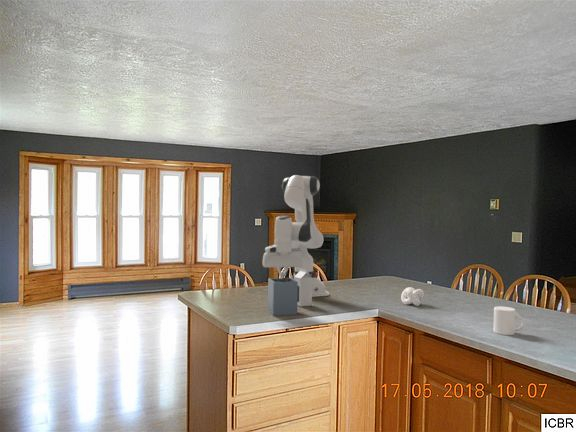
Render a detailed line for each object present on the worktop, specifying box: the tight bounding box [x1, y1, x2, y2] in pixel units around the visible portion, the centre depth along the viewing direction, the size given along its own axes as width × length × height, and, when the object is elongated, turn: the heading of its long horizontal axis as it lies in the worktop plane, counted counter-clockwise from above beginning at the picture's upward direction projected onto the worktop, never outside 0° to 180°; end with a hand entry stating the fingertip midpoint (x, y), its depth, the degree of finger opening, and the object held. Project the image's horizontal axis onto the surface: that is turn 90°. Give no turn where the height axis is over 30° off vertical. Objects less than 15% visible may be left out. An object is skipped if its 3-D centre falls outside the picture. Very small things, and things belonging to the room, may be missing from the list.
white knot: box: [400, 287, 425, 307], centre depth 243 cm, size 11×12×9 cm
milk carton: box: [293, 269, 313, 307], centre depth 238 cm, size 7×7×19 cm
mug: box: [492, 305, 526, 336], centre depth 189 cm, size 8×10×12 cm
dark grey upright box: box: [267, 277, 299, 316], centre depth 221 cm, size 14×12×16 cm
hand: (282, 276), depth 220 cm, fingers closed
